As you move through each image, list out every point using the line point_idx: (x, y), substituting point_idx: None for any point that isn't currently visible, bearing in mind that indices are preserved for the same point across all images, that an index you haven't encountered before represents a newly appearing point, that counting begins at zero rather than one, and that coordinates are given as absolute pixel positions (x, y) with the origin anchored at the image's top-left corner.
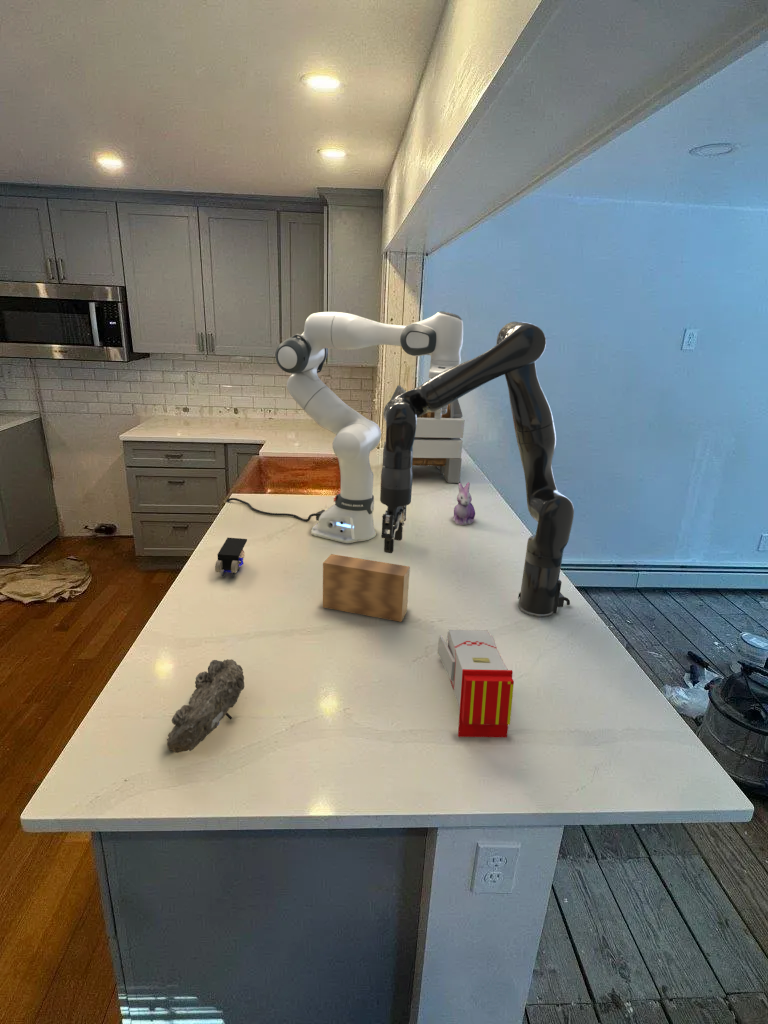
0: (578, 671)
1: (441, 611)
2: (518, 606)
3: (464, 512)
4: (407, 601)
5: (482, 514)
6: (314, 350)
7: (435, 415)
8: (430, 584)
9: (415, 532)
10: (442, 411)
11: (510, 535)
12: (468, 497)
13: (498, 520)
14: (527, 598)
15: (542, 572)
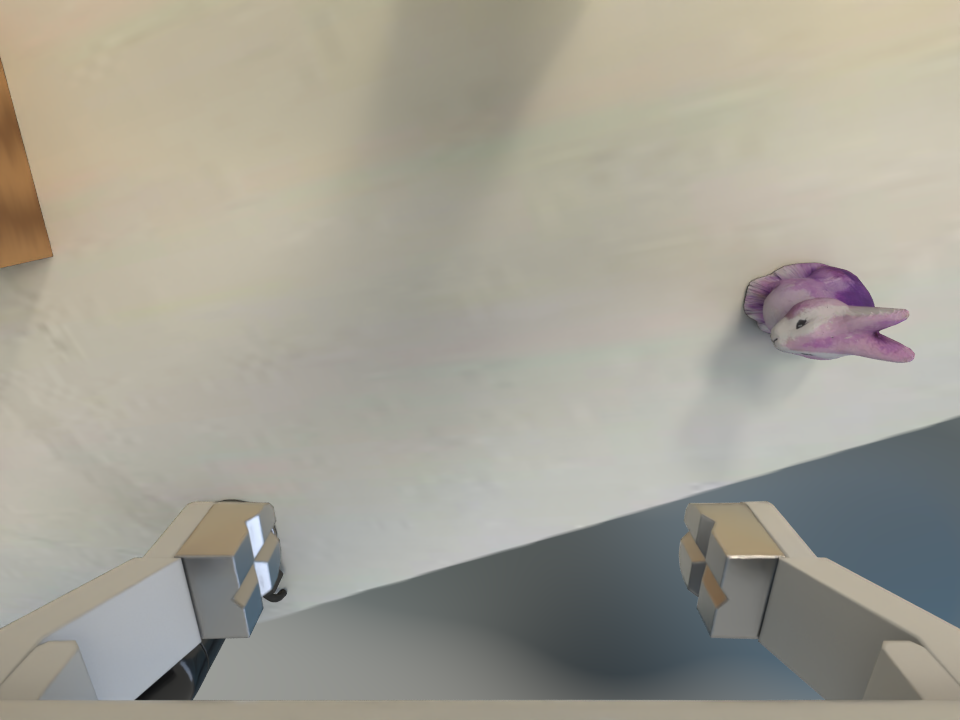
0: (42, 597)
1: (105, 340)
2: (222, 501)
3: (767, 322)
4: (28, 261)
5: None
6: None
7: (170, 541)
8: (234, 285)
9: (627, 146)
10: (709, 551)
11: (687, 458)
12: (802, 353)
13: (823, 414)
14: None
15: None
